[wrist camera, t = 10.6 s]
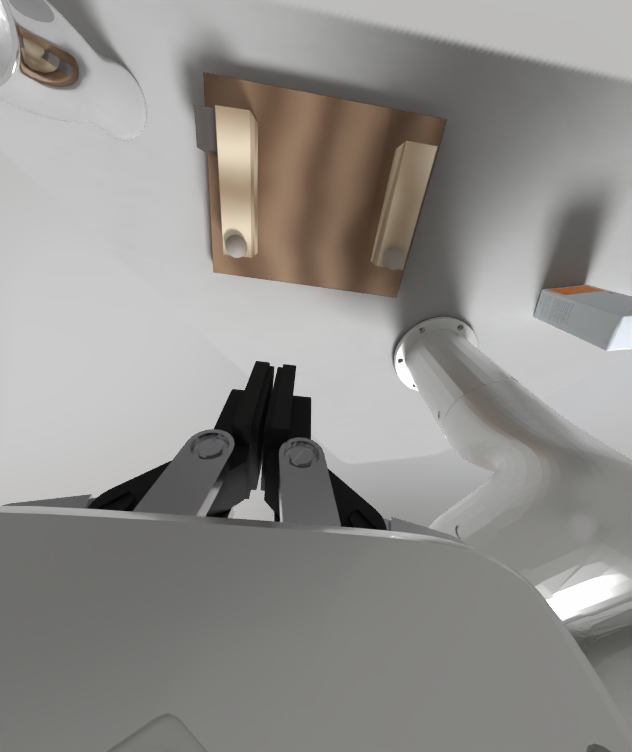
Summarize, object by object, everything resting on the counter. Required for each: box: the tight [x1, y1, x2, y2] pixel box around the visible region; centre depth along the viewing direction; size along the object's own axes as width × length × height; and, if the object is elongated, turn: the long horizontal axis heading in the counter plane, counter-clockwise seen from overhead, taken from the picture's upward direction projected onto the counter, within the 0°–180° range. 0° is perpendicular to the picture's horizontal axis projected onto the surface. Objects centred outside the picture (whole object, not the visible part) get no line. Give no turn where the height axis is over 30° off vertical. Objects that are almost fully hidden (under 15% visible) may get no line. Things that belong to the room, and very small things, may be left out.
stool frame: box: [194, 72, 447, 297], centre depth 30 cm, size 24×18×7 cm
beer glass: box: [0, 0, 147, 140], centre depth 22 cm, size 7×7×15 cm
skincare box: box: [534, 285, 632, 351], centre depth 34 cm, size 6×4×12 cm
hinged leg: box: [215, 105, 258, 258], centre depth 28 cm, size 12×3×5 cm, turn 174°
